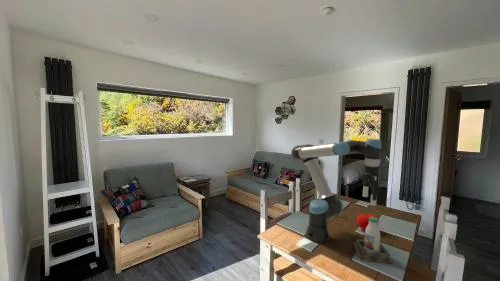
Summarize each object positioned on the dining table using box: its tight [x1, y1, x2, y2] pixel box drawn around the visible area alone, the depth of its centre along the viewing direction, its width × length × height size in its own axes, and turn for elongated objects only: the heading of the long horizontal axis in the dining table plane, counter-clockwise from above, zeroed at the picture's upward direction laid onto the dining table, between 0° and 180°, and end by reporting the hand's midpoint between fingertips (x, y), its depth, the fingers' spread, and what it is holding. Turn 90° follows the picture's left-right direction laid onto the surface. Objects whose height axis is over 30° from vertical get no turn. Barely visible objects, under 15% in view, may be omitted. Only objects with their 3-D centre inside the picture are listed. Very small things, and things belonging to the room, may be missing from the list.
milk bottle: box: [363, 216, 381, 252], centre depth 125 cm, size 8×8×20 cm
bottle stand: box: [352, 238, 394, 264], centre depth 125 cm, size 16×16×4 cm
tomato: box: [356, 212, 379, 231], centre depth 152 cm, size 12×14×11 cm
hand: (368, 200), depth 127 cm, fingers open, 13 cm apart
